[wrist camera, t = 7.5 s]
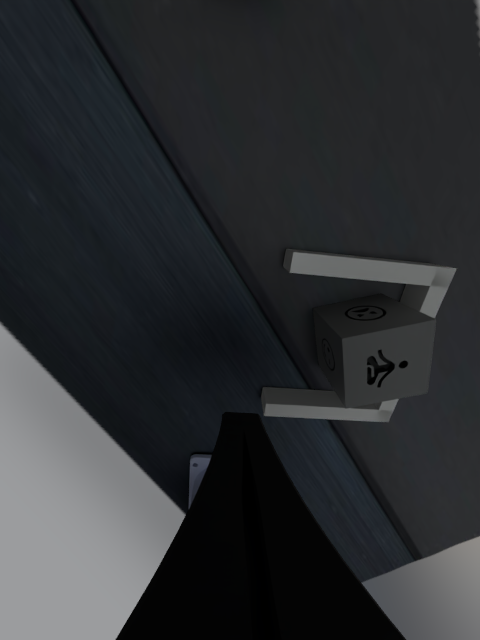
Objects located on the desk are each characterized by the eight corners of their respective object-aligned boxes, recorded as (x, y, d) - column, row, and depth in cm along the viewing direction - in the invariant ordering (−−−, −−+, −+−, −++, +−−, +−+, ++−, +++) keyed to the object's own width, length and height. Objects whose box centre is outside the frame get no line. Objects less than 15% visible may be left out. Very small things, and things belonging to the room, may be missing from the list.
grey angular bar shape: (374, 404, 21) (388, 422, 19) (260, 398, 20) (263, 415, 18) (430, 263, 16) (456, 268, 14) (286, 248, 15) (293, 252, 14)
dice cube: (312, 307, 17) (342, 338, 13) (380, 293, 17) (436, 319, 12) (318, 364, 19) (345, 408, 15) (379, 351, 19) (427, 393, 14)
